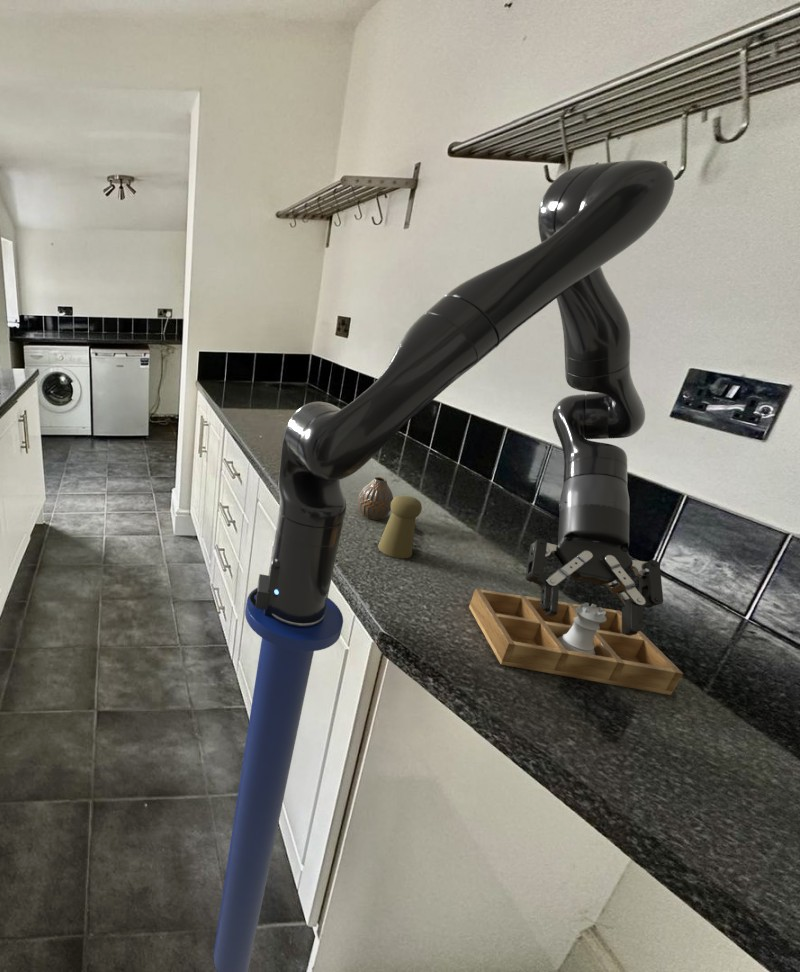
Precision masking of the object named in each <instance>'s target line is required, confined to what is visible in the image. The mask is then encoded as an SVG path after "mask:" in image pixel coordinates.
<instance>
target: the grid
mask: <svg viewBox="0 0 800 972" xmlns="http://www.w3.org/2000/svg"><path fill="white" fill-rule="evenodd" d="M540 600H541V597H540V598H539V597H533V596H528V595H527V596H526V595H519V594H512V593H506V592H499V591H493V590H486V589H480V588H474V591H473V594H472V597H471V599H470V603H469V606H468V609H469V611H470V612H471V614H472V616H473V618H474V619H475V621H476V623H477V624H478V626H479V628H480V630H481V632H482V633H483V635H484V637H485V639H486V641H487V643H488V645H489V646H490V648H491V650H492V652H493V654H494V655H495V657H496V659H497V661H498V662H499V664H500V665H502V666H507V667H513V668H519V669H522V670H523V669H524V670H528V671H529V670H530V671H535V672H541V673H545V674H551V675H557V676H562V677H569V678H574V679H579V680H584V681H591V682H595V683H602V684H607V685H612V686H619V687H622V688H623V687H624V688H630V689H635V690H641V691H645V692H652V693H656V694H662V695H667V696H672V694H673V692H674V691H675V689H676V687H677V686H678V684H679V682H680V681H681V679H682V677H683V675H684V673H683V671H681V669H679V668H678V667H677V666H676V665H675V664H674V663H673V662H672V661H671V659H669V658H668V657H667V656H666V655H665V653H663V652H662V650H660V649H659V647H657V646H656V645H655V644H654V643H653V642H652V641H651V640H650V639H649V638H648V636H647V635H645V634H644V633H643V632H642V630H641V631H638V632H637V634H635V635H631V636H629V635H624V634H622V610H619V609H618V610H617V609H616V610H615V609H612V608H611V609H610V608H603V607H602V608H603V609H604V611H605V612H606V613H605V617H606V619H607V620H606V621H605V622H602V623H600V624H599V626H600V629H599V630H597V631H596V633H595V636H594V640H593V645H594V651H595V655H591V654H585V653H579V652H573V651H566V649H565V648H564V647H563V645H562V644H561V643H560V641H559V640H558V638H559V637H561V636H563V635H564V634H566V633H567V632H568V631H569V630H570V628H571V627H572V626H573V624H574V618H575V617H577V616H578V614H577V612H576V608H577V607H580V606H581V605H582V604H579V603H572V602H565V601H559V600H558V611H557V614H556V615H555V616H553V617H550V616H546V615H545V611H543V610H541V608H540ZM599 608H600V607H597V606H596V609H598V610H599Z"/></svg>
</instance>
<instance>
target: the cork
mask: <svg viewBox="0 0 800 972" xmlns="http://www.w3.org/2000/svg"><path fill="white" fill-rule="evenodd" d="M422 505H423V504H422V503H421V501H420V500H418V498H415V497H413V496H410V495H405V494H404V495H397V496H395V497H393V500H392V502H391V510H390V512H391V513H390V516H389V518H388V520H387V523H386V526H385V528H384V531H383V533H382V535H381V538H380V540H379V543H378V544H377V548H378V550H379V551H380V552H381V553H383V554H384V555H386V556H389V557H391V558H395V559H408V558H411V557H412V556H413V547H414V539H415V529H416V521H417V520H416V518H417V517H419V516H420V514H421V513H422V509H423V506H422Z"/></svg>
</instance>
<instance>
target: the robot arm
mask: <svg viewBox="0 0 800 972" xmlns="http://www.w3.org/2000/svg"><path fill="white" fill-rule="evenodd" d="M675 183H676V182H675V176H674V174H673V171H672V170H671V168H669V166H667V165H666V164H664V163H662V162H659V161H654V160H647V159H646V160H645V159H637V160H635V159H633V160H622V161H612V162H611V161H610V162H602V163H601V162H600V163H591V164H585V165H581V166H575V167H572V168H571V169H568V170H566V171H565V172H563V173H562V174H560V175H559V176H557V178H556V179H555V180H554V181H552V183H551V184H550V185H549V186H548V188H547V189H546V191H545V193H544V194H543V196H542V199H541V202H540V204H539V208H538V214H537V227H538V228H537V229H538V234H539V238H540V243H539V244H537V245H536V246H534V247H533V248H530V249H529V250H527V251H525V252H523V253H521V254H520V255H517V256H515V257H512V258H510V259H508V260H507V261H504V262H501V263H499V264H498V265H495V266H493V267H491V268H489V269H487V270H485V271H483V272H480V273H479V274H477V275H475V276H473V277H471V278H468V279H467V280H465V281H464V282H462V283H460V284H458V285H457V286H455V287H454V288H453V289H451V290H450V291H449V292H447V293H446V294H445V295H444V296H442V298H440V299H439V300H438V301H437V302H435V304H434V305H432V306H431V307H430V308H429V309H427V310H426V311H425V312H424V313H423V314H422V315H421V316H420V317H419V318H418V319H417V320H416V321H415V322H414V323H413V324H412V325H411V326H410V327H409V328H408V330H407V331H406V332H405V334H404V335H403V337H402V338H401V340H400V342H399V344H398V345H397V347H396V350H395V352H394V353H393V355H392V357H391V359H390V361H389V363H388V365H387V366H386V368H385V370H384V371H383V372H382V373H381V375H380V376H379V377H378V378H377V379H376V381H374V383H372V384H371V385H370V386H369V387H368V388H367V389H366V390H365V391H363V392H362V393H360V395H359V396H357V397H356V398H355V399H354V400H353V401H351V402H349V404H347V405H345V406H344V407H342V408H339V407H338V406H336V405H334V404H332V403H329V402H325V401H324V402H323V401H312V402H308V403H306V404H303V405H302V406H301V407H300V408H298V409H297V410H296V411H295V412H294V413H293V414H292V415H291V416H290V418H289V420H288V422H287V424H286V426H285V430H284V432H283V433H284V434H283V438H282V445H281V451H280V452H281V453H280V461H279V471H278V481H277V482H278V483H277V484H278V492H279V507H278V508H279V509H278V515H277V521H276V528H275V534H274V540H273V541H274V542H273V545H272V549H271V556H270V560H269V568H268V574H262V573H259V574H258V581H257V587H256V588H257V589H256V588H254V589H255V590H254V589H253V590H251V592H250V593H249V594H250V600H251V602H252V603H253V605H254V606H256V608H262V609H264V615H265V616H270V617H272V618H274V619H275V620H277V621H279V622H280V623H283V624H285V625H288V626H292V627H298V628H308V627H313V626H316V625H318V624H320V623H321V622H322V621H323V619H324V616H325V609H326V603H327V598H329V592H330V588H331V584H332V578H333V573H334V569H335V564H336V560H337V554H338V550H339V544H340V540H341V535H342V530H343V525H344V521H345V516H346V511H347V501H346V498H345V494H344V492H343V489H342V486H341V482H340V481H341V480H343V479H346V478H348V477H351V476H352V475H354V474H355V473H356V472H357V471H359V470H360V469H361V468H362V467H364V466H365V465H366V464H367V463H368V462H369V461H370V460H371V459H372V458H373V457H375V455H376V454H377V453H378V452H379V451H380V450H381V449H382V448H384V447H385V445H386V444H387V443H388V442H389V441H390V440H391V439H392V438H393V437H394V436H395V435H396V434H397V433H398V432H399V431H400V430H401V429H403V427H404V426H406V424H407V423H408V422H409V421H411V419H413V418H414V417H415V415H417V414H418V413H419V412H421V410H423V409H424V408H425V407H427V406H428V405H429V404H430V403H431V402H432V401H433V400H435V399H436V398H437V397H438V396H439V395H440V394H441V393H442V392H444V391H445V390H447V388H449V386H451V385H452V384H453V383H454V382H455V381H457V380H458V379H459V378H460V377H462V376H463V375H465V374H466V373H467V372H468V371H470V370H471V369H472V368H474V367H475V366H476V365H477V364H478V363H479V362H481V361H482V360H483V359H484V358H485V357H487V356H488V355H489V354H491V353H492V352H493V351H494V350H495V349H497V348H498V347H499V346H500V345H501V344H502V343H503V342H504V341H506V339H508V338H509V337H510V336H511V335H512V334H514V332H516V331H517V330H518V329H520V328H521V327H522V326H523V325H524V324H526V323H527V322H528V321H529V320H531V319H532V318H534V316H535V315H538V314H539V313H540V312H541V311H542V310H543V309H545V308H546V307H547V306H548V305H550V304H551V303H553V302H554V301H555V300H556V302H557V305H558V310H559V314H560V320H561V325H562V333H563V349H564V370H565V371H564V372H565V373H564V374H565V381H566V383H567V385H568V386H569V387H571V388H572V389H575V390H577V391H581V392H589V393H586V394H585V393H583V394H572V395H568V396H565V397H563V398H561V399H560V400H559V401H558V402H557V403H556V405H555V406H554V408H553V411H552V422H553V426H554V429H555V432H556V434H557V437H558V439H559V442H560V445H561V448H562V454H563V460H564V461H563V466H564V467H563V482H562V491H561V493H560V499H559V504H558V511H559V513H558V514H559V518H558V530H557V531H558V533H557V544H555V543H550V542H548V541H547V540H546V539H545V538H543V537H539V538H538V539H536V540H534V542H532V543H531V544H530V545H529V552H528V556H527V557H528V559H527V563H526V569H525V570H526V571H525V580H526V581H527V582H529V583H534V584H536V585H537V586H539V588H540V599H541V600H540V608H541V610H543V611H545V615H546V616H550V617H553V616H555V615H556V614H557V611H558V601H559V593H560V592H559V591H560V587H557V585H558V584H560V583H561V582H562V581H564V580H565V579H566V578H568V577H570V578H573V580H574V581H579V582H589V583H591V584H593V585H598V586H603V585H605V586H606V587H607V589H608V590H609V591H610V593H611V594H614V595H616V597H617V598H618V599H619V600H620V601H621V603H622V604H623V607H621V612H622V634H624V635H629V636H631V635H635V634H637V632H638V631H641V632H642V630H643V629H644V608H646V609H651V608H652V607H655V606H658V605H661V604H663V603H664V594H663V583H662V573H661V572H662V571H661V563H660V562H659V561H658V560H656V559H650V560H648V561H644V560H637V559H633V558H632V557H631V556H630V554H629V553H630V552H629V546H630V496H629V491H628V456H627V453H626V451H625V450H624V449H623V448H622V447H619V446H617V445H614V444H611V443H607V442H599V441H593V440H607V439H625V438H629V437H632V436H633V435H635V434H637V433H638V432H639V431H640V430H641V429H642V427H643V426H644V423H645V421H646V410H645V407H644V404H643V401H642V399H641V397H640V395H639V393H638V390H637V388H636V386H635V384H634V381H633V377H632V375H631V328H630V323H629V320H628V317H627V314H626V313H625V310H624V308H623V306H622V305H621V303H620V301H619V300H618V298H617V296H616V294H615V293H614V291H613V289H612V288H611V286H610V284H609V282H608V280H607V278H606V276H605V274H604V271H603V269H602V266H603V265H605V264H606V263H608V262H609V261H611V260H612V259H614V258H615V257H617V256H618V255H619V254H621V253H622V252H624V251H625V250H627V249H628V248H629V247H631V246H632V245H633V244H634V243H636V242H637V241H638V240H640V239H641V238H642V237H643V236H644V235H645V234H646V233H647V232H648V231H650V230H651V228H652V227H653V226H654V225H655V224H656V223H657V221H658V220H659V219H660V218H661V216H662V215H663V214H664V212H665V211H666V209H667V207H668V205H669V203H670V202H671V199H672V197H673V193H674V189H675ZM551 554H553V556H554V557H555V559H556V560H557V561H558V562H559V564H560V567H558V568H557V569H556V570H554V571H553V572H551V574H550V575H547V574H545V573H544V566H545V560H546V558H548V557H549V556H551ZM630 569H631V570H632V571H633V574H634V577H637V578H638V587H639V589H637V587H636V583H635V581H634V580H633V579H632V578H631V577H630V576H629V574H628V573H627V571H628V570H630ZM256 594H257V597H256V600H255V598H254V596H255V595H256Z"/></svg>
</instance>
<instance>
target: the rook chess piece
mask: <svg viewBox="0 0 800 972" xmlns="http://www.w3.org/2000/svg"><path fill="white" fill-rule="evenodd" d="M580 605H581V606H580V607H577V608H576V612H577V614H578V616H577V617H575V618H574V624H573V626H572V627H571V628H570V630H569V631H568V632H567V633H566V634H564V635H563V636H561V637H559V638H558V640H559V641H560V643H561V644H562V645H563V647H564V648H565V649H566V651H573V652H579V653H585V654H591V655H595V651H594V645H593V640H594V636H595V633H596V631H597V630H599V629H600V626H599V624H600V623H602V622H605V621H606V620H607V619H606V617H605V613H606V612H605V611H604V609H605V608H604V609H603V607H598V608H599V610H598V609H596V607H597V606H598V605H597V604H595V603H591V605H590V603H589V602H583V603H581V604H580Z"/></svg>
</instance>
